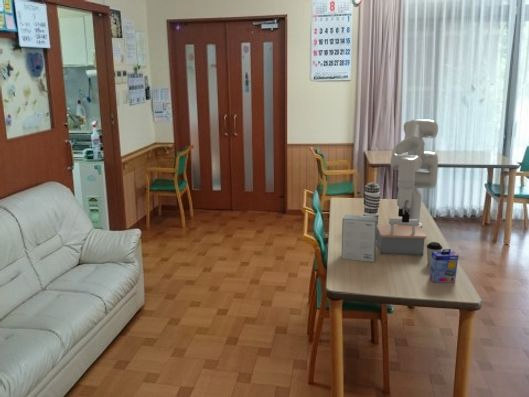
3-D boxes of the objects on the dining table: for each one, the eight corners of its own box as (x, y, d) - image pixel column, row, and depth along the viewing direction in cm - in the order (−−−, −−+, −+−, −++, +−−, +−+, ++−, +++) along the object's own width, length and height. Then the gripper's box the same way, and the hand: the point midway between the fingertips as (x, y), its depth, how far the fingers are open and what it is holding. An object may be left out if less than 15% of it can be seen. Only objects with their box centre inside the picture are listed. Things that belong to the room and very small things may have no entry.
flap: (376, 226, 257) (377, 210, 255) (419, 227, 255) (420, 211, 253) (380, 237, 242) (381, 220, 239) (426, 238, 240) (427, 221, 238)
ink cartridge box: (433, 283, 213) (436, 250, 209) (428, 277, 218) (431, 246, 215) (456, 282, 214) (459, 249, 210) (450, 276, 219) (453, 245, 215)
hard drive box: (376, 256, 242) (378, 216, 237) (374, 262, 235) (376, 221, 230) (343, 253, 247) (345, 213, 242) (340, 258, 240) (342, 218, 235)
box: (376, 243, 259) (377, 226, 257) (416, 244, 258) (418, 227, 255) (380, 254, 245) (381, 236, 243) (423, 255, 243) (424, 237, 241)
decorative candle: (362, 223, 292) (364, 181, 285) (379, 224, 289) (381, 182, 283) (361, 228, 283) (363, 184, 277) (378, 229, 281) (380, 185, 274)
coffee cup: (438, 268, 228) (440, 247, 225) (423, 265, 231) (424, 244, 229) (442, 263, 234) (444, 243, 231) (427, 260, 237) (428, 240, 235)
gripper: (394, 180, 246) (392, 214, 250) (401, 188, 229) (398, 224, 233) (410, 180, 245) (408, 214, 249) (418, 188, 228) (415, 224, 232)
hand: (403, 219), depth 241 cm, fingers open, 9 cm apart
